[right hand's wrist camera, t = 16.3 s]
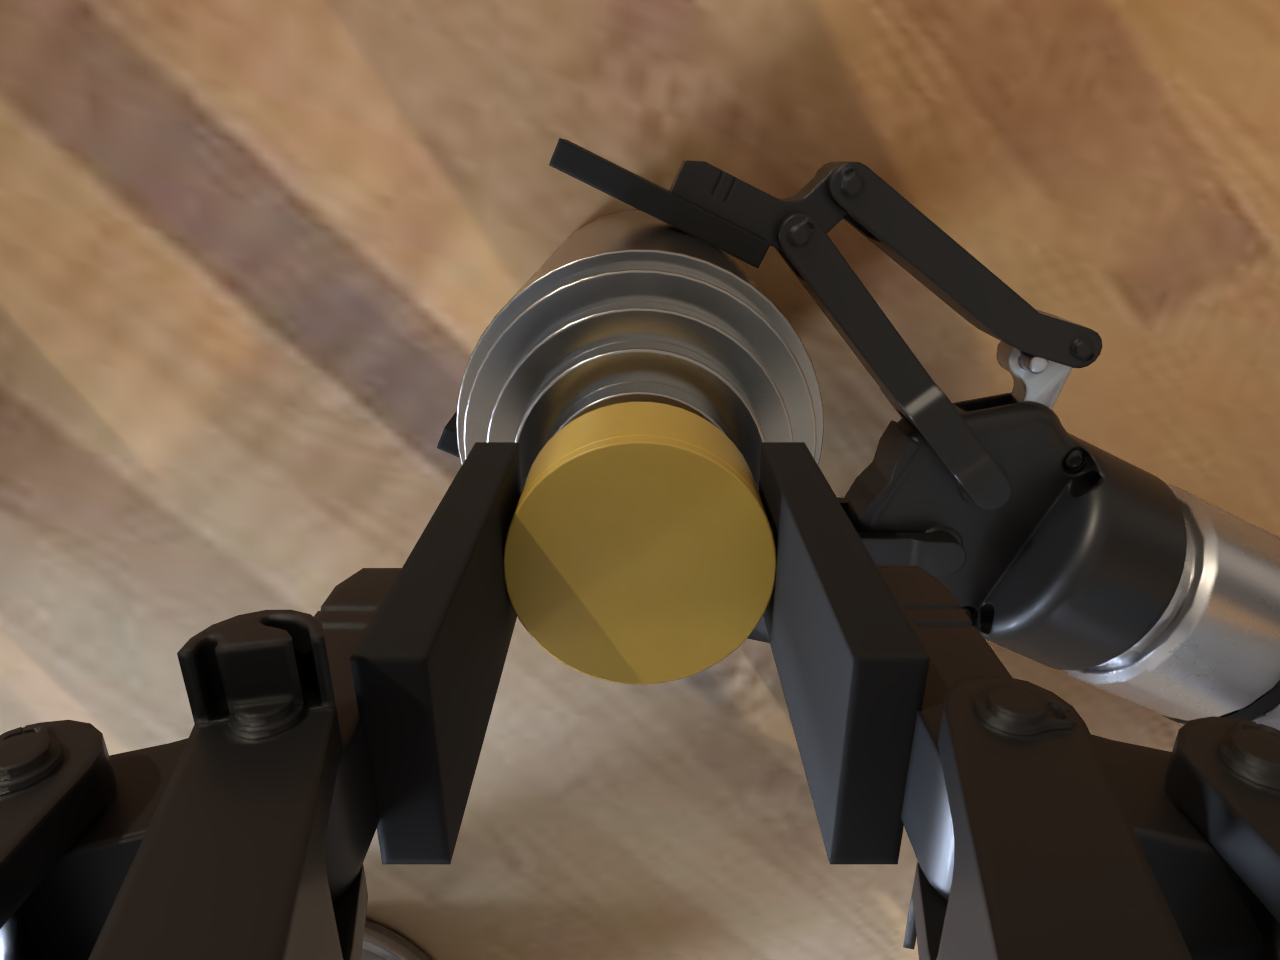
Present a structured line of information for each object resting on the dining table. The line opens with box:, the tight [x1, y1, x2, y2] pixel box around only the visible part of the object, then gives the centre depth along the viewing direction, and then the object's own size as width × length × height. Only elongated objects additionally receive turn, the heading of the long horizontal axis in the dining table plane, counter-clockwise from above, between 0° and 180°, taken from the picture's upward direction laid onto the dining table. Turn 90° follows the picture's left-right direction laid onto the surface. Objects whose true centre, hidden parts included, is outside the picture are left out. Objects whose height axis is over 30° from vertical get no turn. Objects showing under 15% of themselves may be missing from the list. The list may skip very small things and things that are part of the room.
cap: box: [503, 402, 777, 684], centre depth 13 cm, size 4×4×2 cm
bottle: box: [456, 210, 824, 490], centre depth 22 cm, size 8×8×20 cm
